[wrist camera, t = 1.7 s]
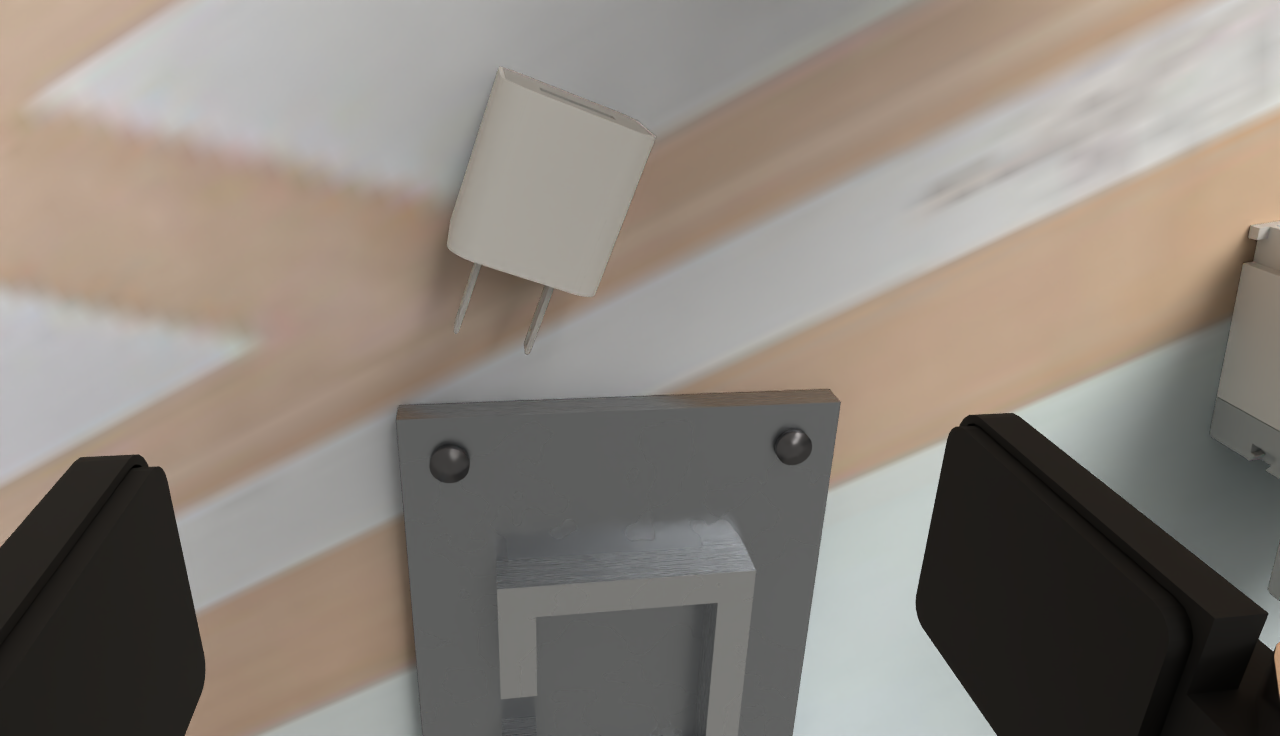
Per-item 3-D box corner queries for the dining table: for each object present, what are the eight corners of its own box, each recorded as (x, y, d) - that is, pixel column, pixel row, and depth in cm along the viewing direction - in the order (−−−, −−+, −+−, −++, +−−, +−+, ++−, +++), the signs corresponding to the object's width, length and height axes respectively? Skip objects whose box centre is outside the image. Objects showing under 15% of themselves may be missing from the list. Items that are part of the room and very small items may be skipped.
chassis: (398, 405, 27) (391, 444, 24) (829, 389, 29) (858, 423, 27) (433, 818, 34) (429, 877, 31) (775, 778, 36) (795, 831, 34)
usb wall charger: (634, 118, 24) (661, 141, 21) (553, 334, 27) (564, 389, 23) (498, 64, 23) (501, 79, 20) (424, 295, 25) (415, 347, 22)
